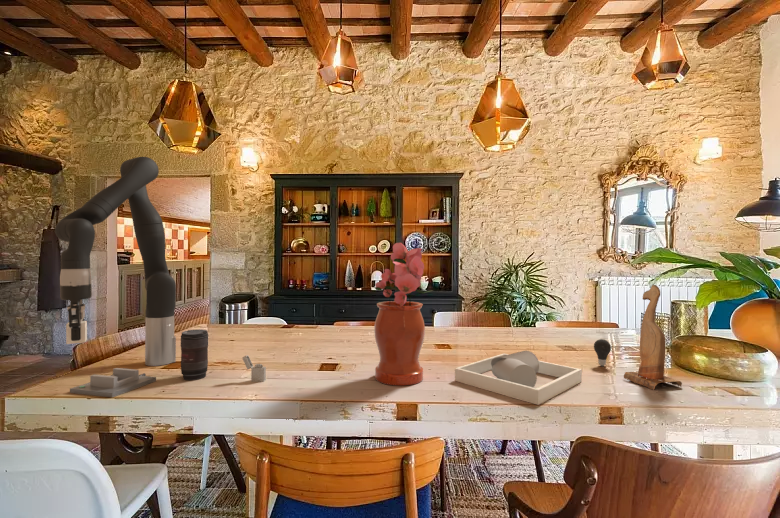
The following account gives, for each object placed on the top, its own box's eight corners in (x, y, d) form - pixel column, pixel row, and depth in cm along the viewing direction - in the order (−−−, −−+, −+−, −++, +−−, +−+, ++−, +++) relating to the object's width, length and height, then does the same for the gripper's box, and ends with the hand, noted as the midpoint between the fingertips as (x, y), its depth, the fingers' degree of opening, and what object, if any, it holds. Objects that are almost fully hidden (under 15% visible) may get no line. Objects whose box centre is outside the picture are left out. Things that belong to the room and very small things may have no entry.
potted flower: (425, 366, 142) (426, 243, 142) (437, 389, 116) (438, 240, 116) (373, 366, 141) (374, 242, 141) (374, 390, 115) (375, 239, 115)
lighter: (265, 380, 124) (266, 355, 124) (263, 381, 122) (263, 356, 122) (244, 379, 125) (244, 354, 125) (241, 381, 123) (242, 355, 123)
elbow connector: (477, 370, 133) (503, 389, 114) (484, 340, 134) (510, 354, 114) (524, 379, 136) (557, 400, 116) (531, 350, 136) (564, 365, 117)
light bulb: (590, 364, 146) (590, 337, 146) (604, 364, 147) (604, 337, 147) (599, 368, 141) (599, 340, 141) (614, 368, 141) (614, 340, 141)
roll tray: (503, 364, 146) (503, 353, 146) (581, 381, 125) (581, 369, 125) (454, 380, 125) (454, 368, 125) (538, 405, 105) (538, 390, 105)
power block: (125, 374, 129) (125, 362, 129) (163, 378, 125) (163, 365, 125) (69, 392, 111) (69, 378, 111) (112, 397, 108) (112, 382, 108)
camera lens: (176, 381, 122) (176, 334, 122) (185, 374, 130) (186, 329, 130) (203, 380, 123) (204, 333, 123) (211, 373, 131) (211, 329, 131)
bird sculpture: (647, 376, 131) (648, 283, 131) (683, 387, 120) (684, 285, 120) (622, 379, 127) (623, 283, 128) (657, 391, 116) (657, 285, 116)
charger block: (68, 341, 120) (68, 321, 120) (87, 339, 123) (86, 320, 123) (66, 344, 116) (66, 324, 116) (85, 342, 119) (85, 322, 119)
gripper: (64, 282, 123) (65, 336, 123) (56, 285, 111) (57, 344, 111) (93, 281, 127) (94, 333, 128) (89, 284, 115) (90, 341, 116)
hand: (77, 338), depth 120 cm, fingers closed on charger block, 4 cm apart
